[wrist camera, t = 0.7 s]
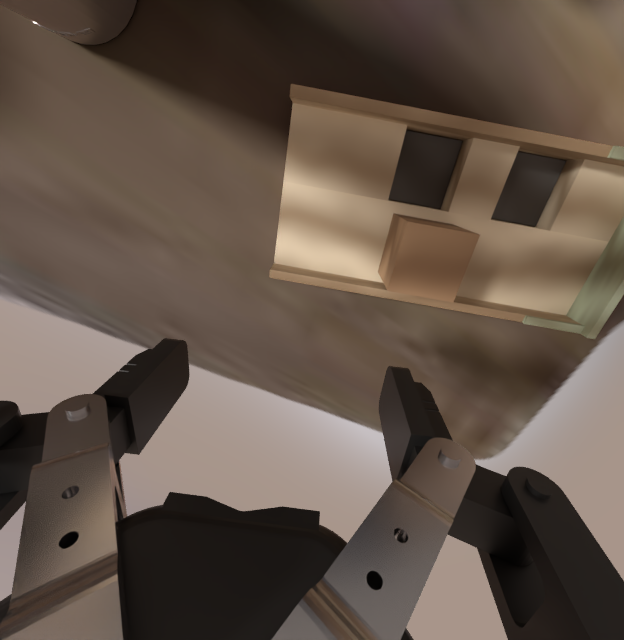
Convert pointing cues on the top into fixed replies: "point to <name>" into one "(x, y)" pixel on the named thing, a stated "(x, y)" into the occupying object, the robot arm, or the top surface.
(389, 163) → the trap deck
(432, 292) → the walnut block
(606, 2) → the top surface
